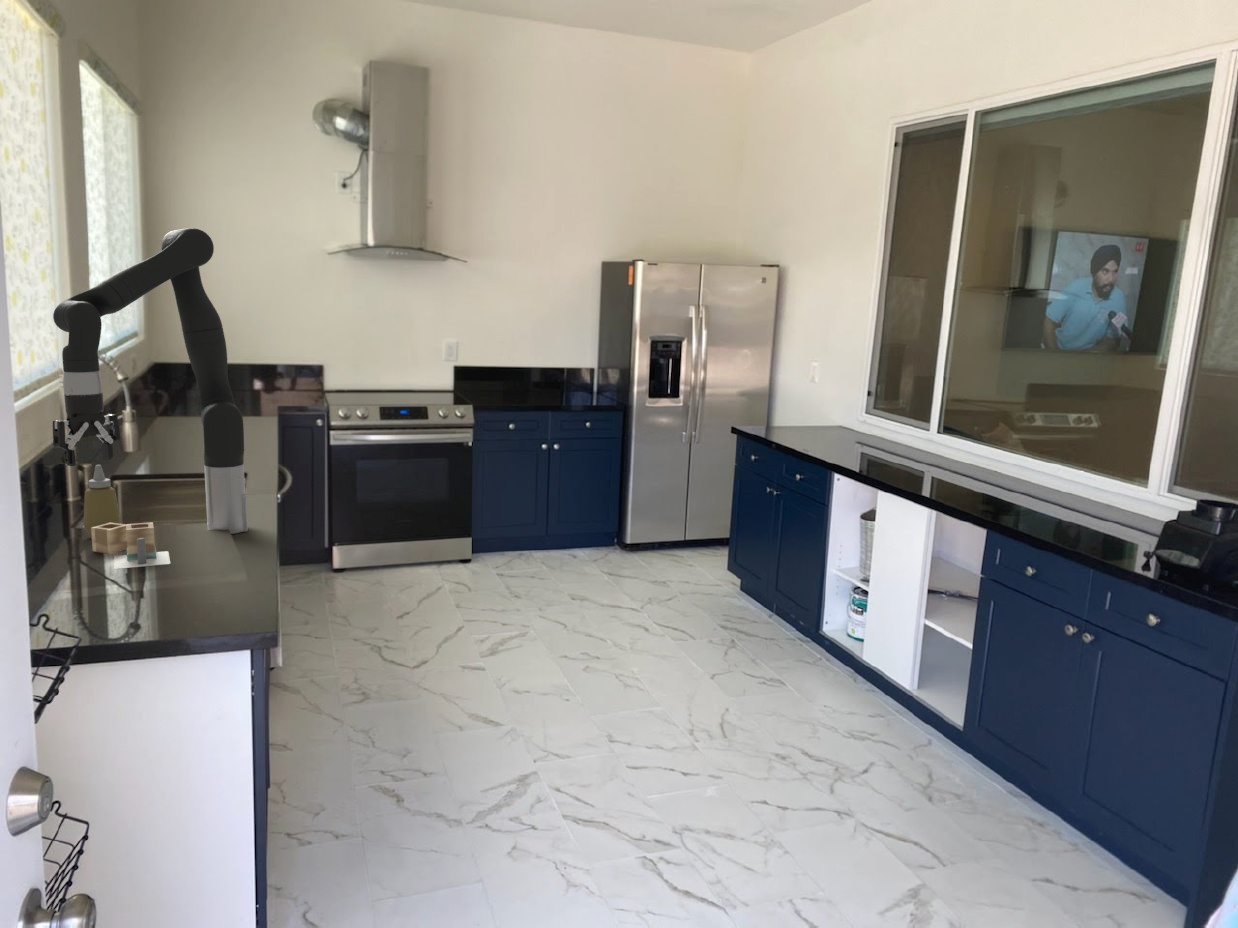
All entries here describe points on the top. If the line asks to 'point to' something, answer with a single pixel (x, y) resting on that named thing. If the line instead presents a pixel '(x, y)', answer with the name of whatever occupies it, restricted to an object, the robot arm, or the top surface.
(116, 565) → the pin board
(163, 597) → the top surface
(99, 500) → the squeeze bottle
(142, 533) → the seated sleeve
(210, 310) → the robot arm
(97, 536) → the beech sleeve
